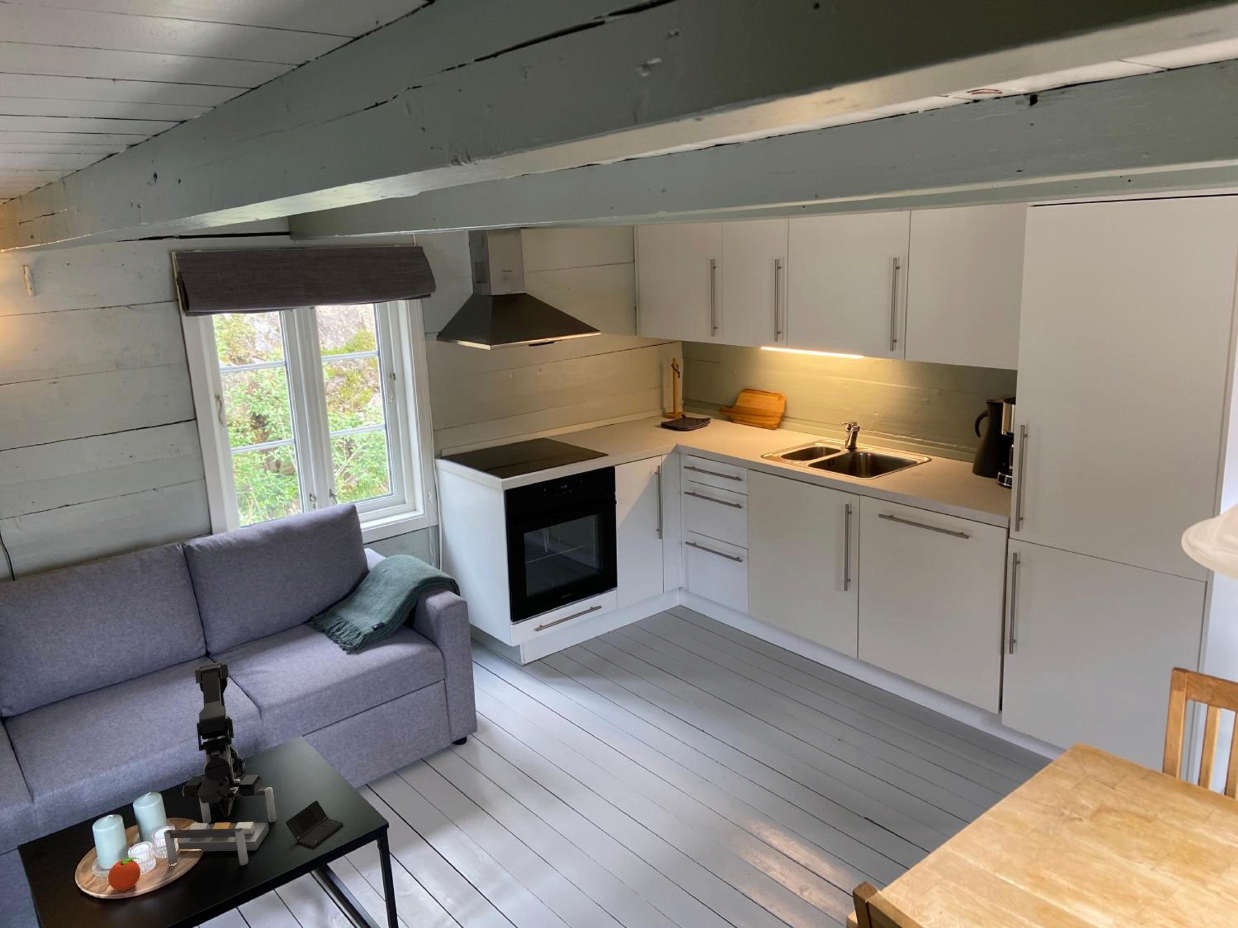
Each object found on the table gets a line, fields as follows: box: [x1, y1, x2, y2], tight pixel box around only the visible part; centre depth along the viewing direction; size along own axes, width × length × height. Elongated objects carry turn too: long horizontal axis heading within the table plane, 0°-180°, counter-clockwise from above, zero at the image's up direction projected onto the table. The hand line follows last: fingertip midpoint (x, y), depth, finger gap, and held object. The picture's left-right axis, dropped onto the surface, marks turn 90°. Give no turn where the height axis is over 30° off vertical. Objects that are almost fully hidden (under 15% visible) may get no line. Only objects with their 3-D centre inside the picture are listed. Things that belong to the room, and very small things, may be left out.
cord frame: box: [163, 787, 277, 866], centre depth 236 cm, size 20×20×9 cm
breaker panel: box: [177, 822, 270, 852], centre depth 237 cm, size 8×20×2 cm, turn 88°
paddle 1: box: [189, 822, 210, 830], centre depth 236 cm, size 2×4×2 cm, turn 88°
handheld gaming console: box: [285, 800, 344, 849], centre depth 239 cm, size 12×7×10 cm
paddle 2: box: [235, 821, 255, 834], centre depth 236 cm, size 2×4×2 cm, turn 89°
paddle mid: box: [213, 822, 232, 829], centre depth 236 cm, size 2×4×2 cm, turn 89°
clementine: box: [107, 856, 143, 891], centre depth 220 cm, size 8×7×7 cm
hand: (227, 815), depth 235 cm, fingers closed
